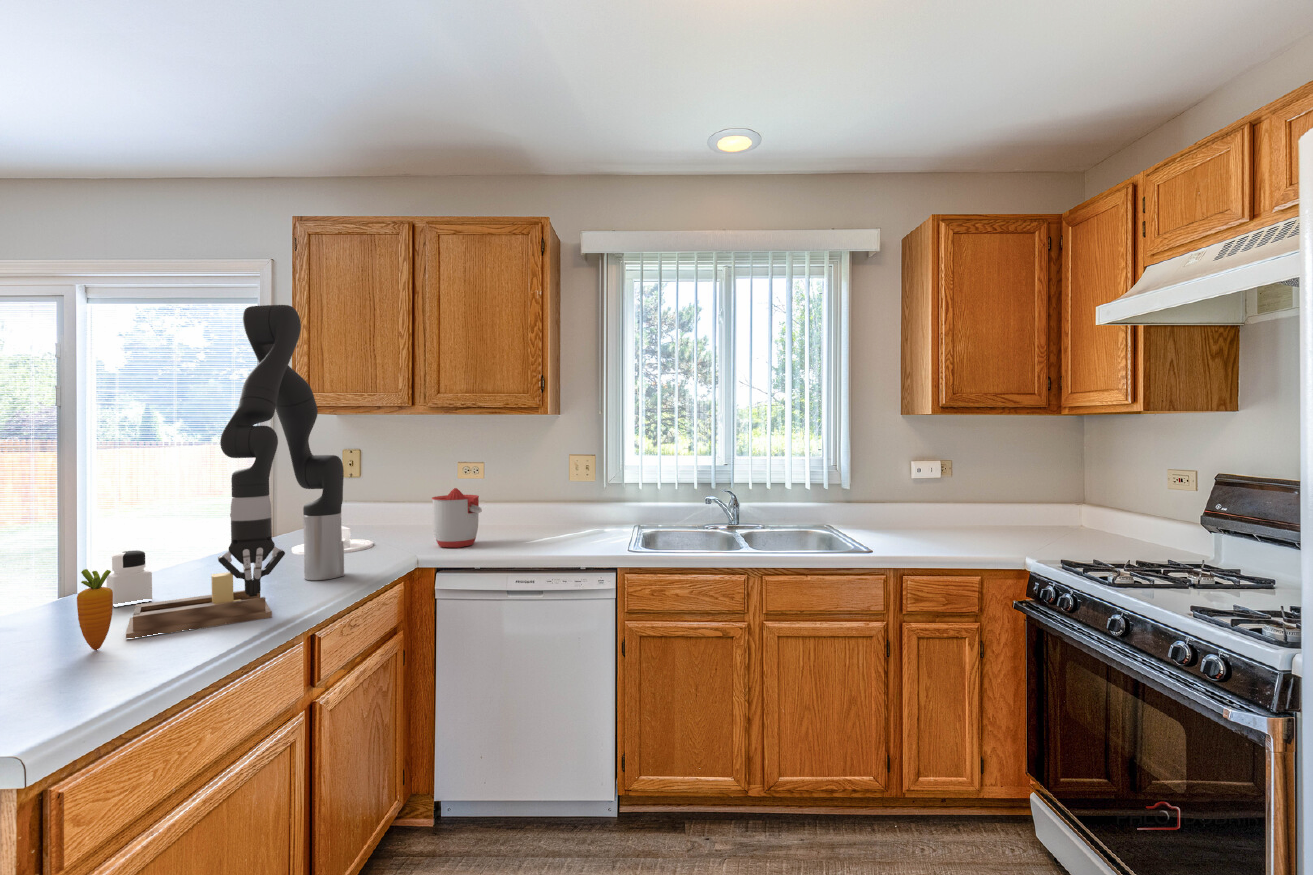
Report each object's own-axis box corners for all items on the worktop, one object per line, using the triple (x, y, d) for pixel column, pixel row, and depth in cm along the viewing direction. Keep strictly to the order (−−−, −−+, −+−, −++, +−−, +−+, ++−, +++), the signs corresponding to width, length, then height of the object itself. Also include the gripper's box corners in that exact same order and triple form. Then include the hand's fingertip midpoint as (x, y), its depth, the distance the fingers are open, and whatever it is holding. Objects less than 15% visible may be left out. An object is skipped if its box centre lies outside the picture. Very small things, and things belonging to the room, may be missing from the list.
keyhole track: (264, 603, 148) (264, 586, 148) (271, 617, 137) (271, 598, 137) (130, 623, 134) (129, 604, 134) (126, 640, 123) (125, 619, 123)
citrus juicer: (466, 550, 212) (465, 490, 212) (422, 548, 218) (421, 489, 217) (492, 542, 227) (492, 486, 227) (451, 540, 232) (450, 485, 232)
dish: (275, 552, 215) (275, 518, 215) (343, 540, 237) (342, 510, 237) (321, 558, 204) (321, 522, 203) (388, 545, 225) (388, 513, 225)
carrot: (121, 645, 120) (119, 565, 119) (98, 654, 115) (97, 570, 114) (93, 646, 119) (92, 565, 119) (70, 655, 114) (68, 571, 114)
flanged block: (240, 605, 142) (240, 569, 142) (243, 612, 137) (243, 574, 137) (202, 611, 138) (201, 574, 138) (203, 618, 132) (202, 579, 132)
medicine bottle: (144, 597, 156) (143, 547, 156) (152, 601, 151) (151, 550, 151) (106, 603, 150) (105, 552, 150) (113, 608, 146) (112, 555, 146)
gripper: (215, 521, 134) (217, 604, 134) (288, 515, 142) (290, 594, 142) (213, 518, 139) (215, 597, 140) (283, 512, 148) (284, 587, 148)
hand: (252, 595), depth 141 cm, fingers closed
